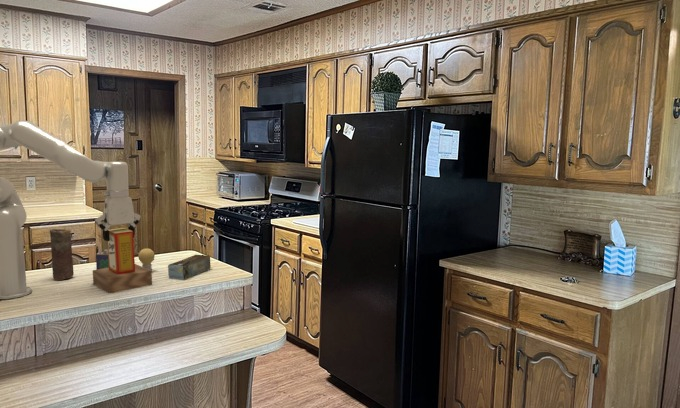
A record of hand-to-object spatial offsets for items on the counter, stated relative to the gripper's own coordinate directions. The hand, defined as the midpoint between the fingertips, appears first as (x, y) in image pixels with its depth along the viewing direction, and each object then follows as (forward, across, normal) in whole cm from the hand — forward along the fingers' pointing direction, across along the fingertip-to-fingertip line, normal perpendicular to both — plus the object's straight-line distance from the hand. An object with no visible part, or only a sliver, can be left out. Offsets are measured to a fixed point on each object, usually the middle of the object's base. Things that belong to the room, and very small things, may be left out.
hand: (119, 238), depth 191 cm
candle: (+18, -10, +26) cm, 33 cm away
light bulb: (+18, +17, +10) cm, 26 cm away
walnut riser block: (+18, +1, 0) cm, 18 cm away
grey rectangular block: (+18, +27, -6) cm, 33 cm away
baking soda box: (+12, 0, 0) cm, 13 cm away
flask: (+18, +4, +18) cm, 26 cm away
